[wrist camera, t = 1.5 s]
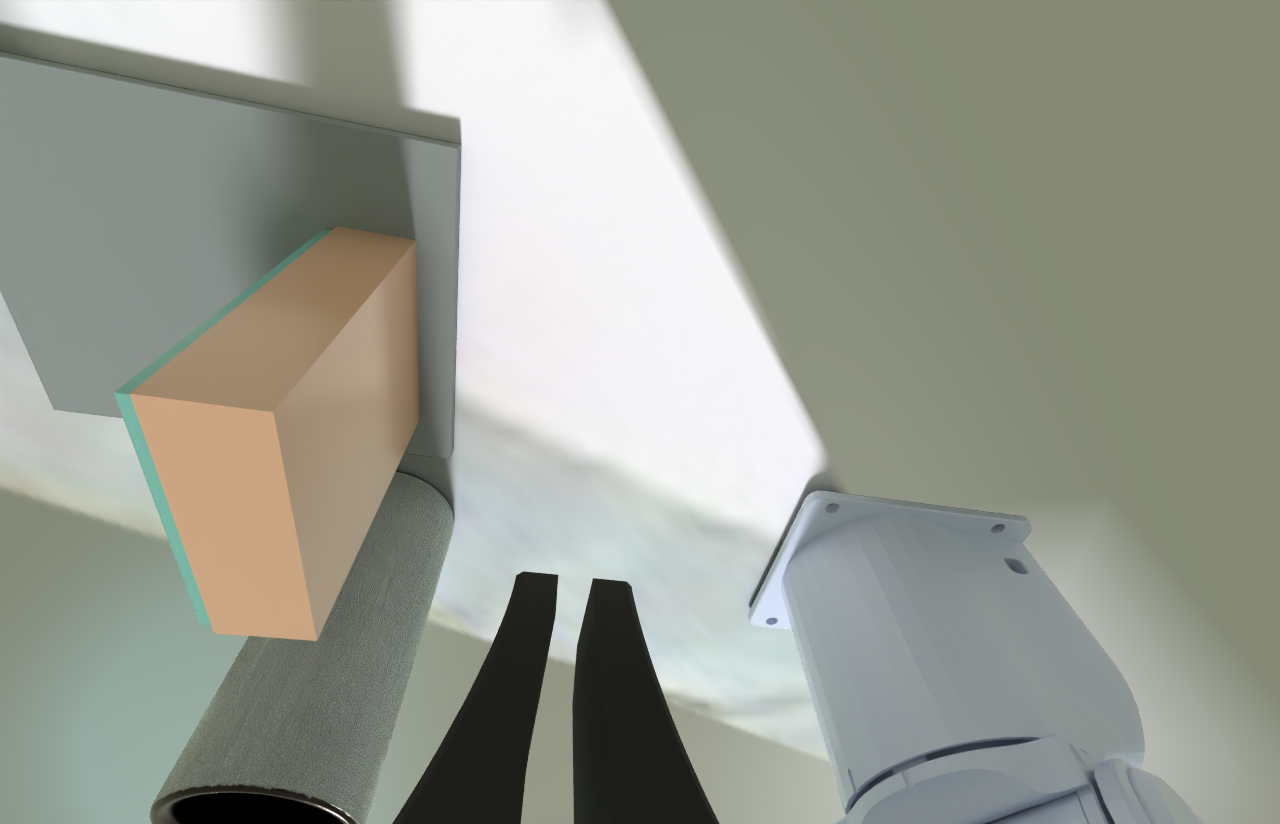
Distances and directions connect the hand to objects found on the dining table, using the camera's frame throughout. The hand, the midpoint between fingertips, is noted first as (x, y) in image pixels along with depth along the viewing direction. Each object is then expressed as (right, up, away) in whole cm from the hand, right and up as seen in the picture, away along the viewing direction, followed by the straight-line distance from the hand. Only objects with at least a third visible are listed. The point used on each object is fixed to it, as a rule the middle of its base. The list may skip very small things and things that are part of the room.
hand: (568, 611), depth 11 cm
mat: (-10, +7, +6) cm, 14 cm away
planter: (-8, 0, +11) cm, 14 cm away
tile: (-6, +6, +6) cm, 11 cm away
